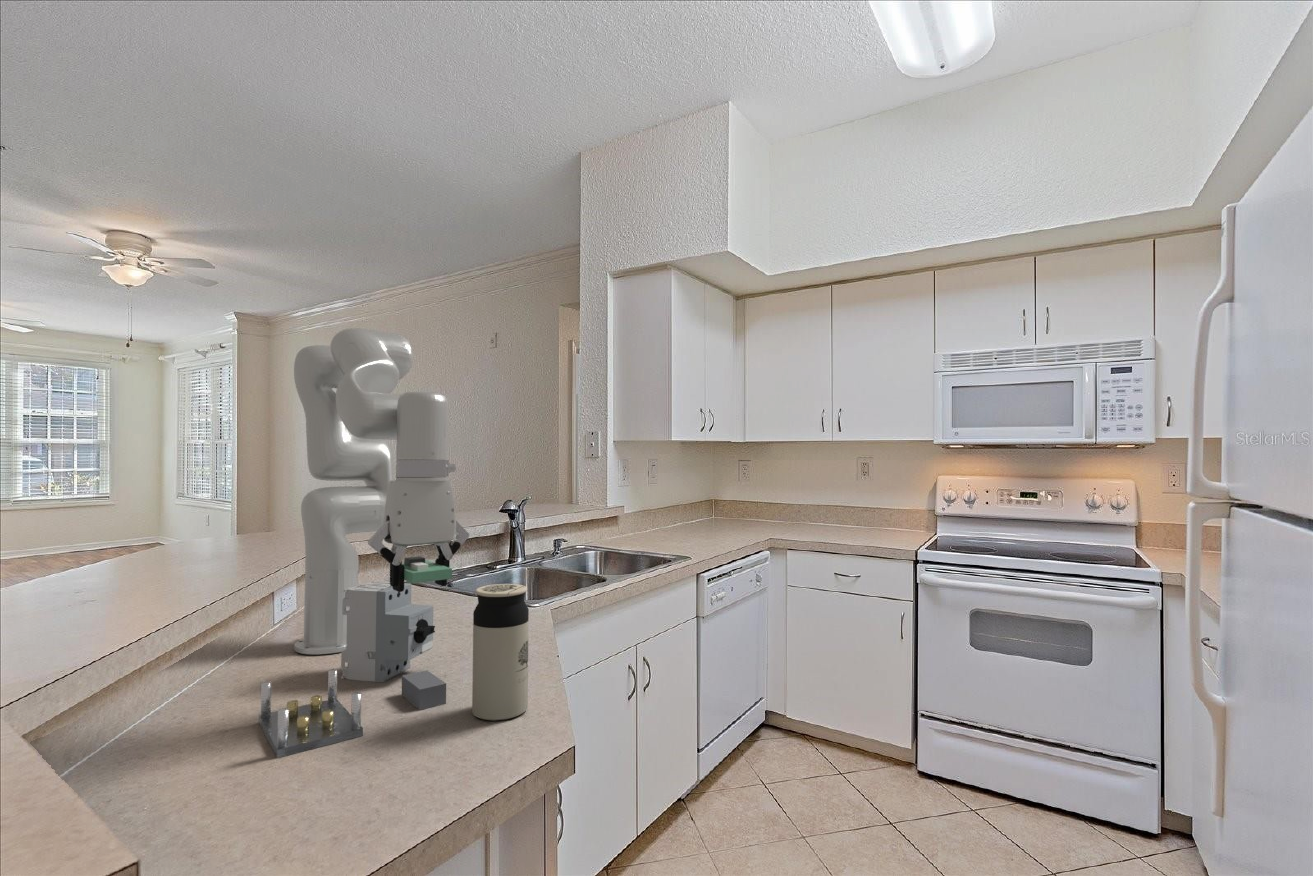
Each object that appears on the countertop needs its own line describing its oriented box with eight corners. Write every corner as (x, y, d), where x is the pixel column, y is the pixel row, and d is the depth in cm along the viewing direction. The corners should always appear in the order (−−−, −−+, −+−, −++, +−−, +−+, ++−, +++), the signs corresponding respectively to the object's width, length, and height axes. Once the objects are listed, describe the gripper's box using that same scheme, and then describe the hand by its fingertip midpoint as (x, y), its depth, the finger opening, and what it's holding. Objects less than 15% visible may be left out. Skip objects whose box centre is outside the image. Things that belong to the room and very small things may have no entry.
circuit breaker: (416, 684, 105) (418, 593, 105) (340, 678, 108) (342, 589, 108) (441, 670, 112) (442, 584, 113) (369, 664, 115) (370, 581, 115)
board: (389, 573, 100) (390, 557, 100) (427, 569, 104) (427, 554, 104) (412, 583, 93) (412, 566, 93) (452, 578, 97) (452, 562, 97)
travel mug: (460, 717, 91) (462, 591, 92) (494, 698, 99) (495, 581, 100) (507, 725, 88) (508, 595, 89) (537, 705, 96) (539, 585, 97)
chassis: (258, 722, 89) (259, 683, 90) (336, 705, 96) (336, 668, 96) (277, 758, 79) (278, 713, 79) (362, 735, 85) (363, 694, 85)
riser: (401, 694, 100) (401, 675, 100) (426, 689, 103) (427, 670, 103) (419, 710, 94) (419, 689, 94) (446, 703, 97) (446, 683, 97)
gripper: (464, 470, 108) (462, 577, 107) (356, 471, 96) (353, 591, 96) (484, 471, 102) (482, 584, 101) (371, 472, 91) (368, 599, 90)
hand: (420, 586), depth 99 cm, fingers closed on board, 6 cm apart
